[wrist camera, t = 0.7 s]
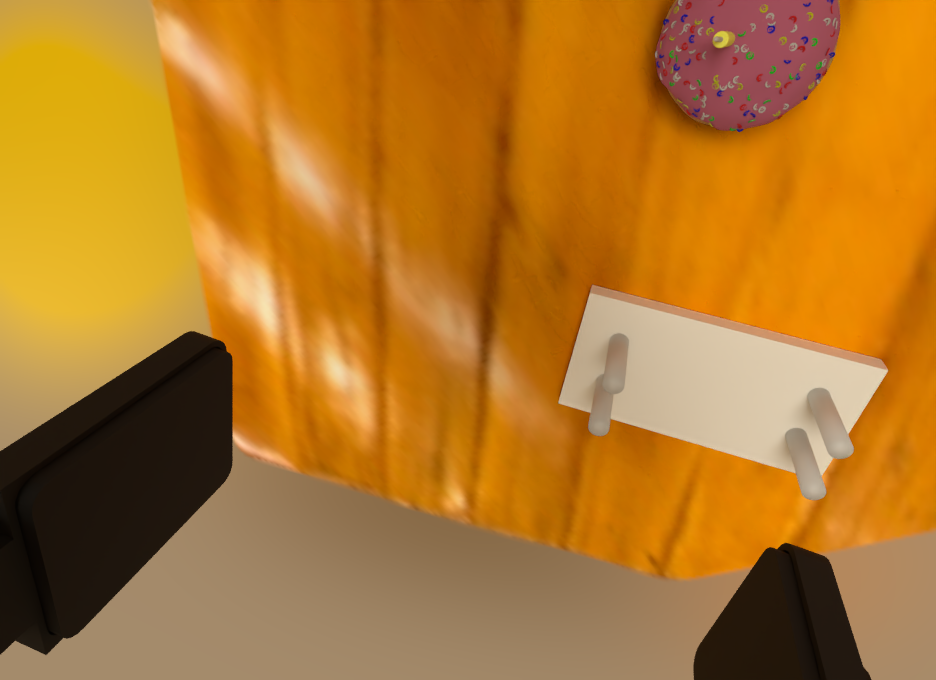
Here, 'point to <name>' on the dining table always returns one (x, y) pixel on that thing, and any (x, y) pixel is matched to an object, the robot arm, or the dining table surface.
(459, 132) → the dining table surface
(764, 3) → the cupcake
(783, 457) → the peg stand
